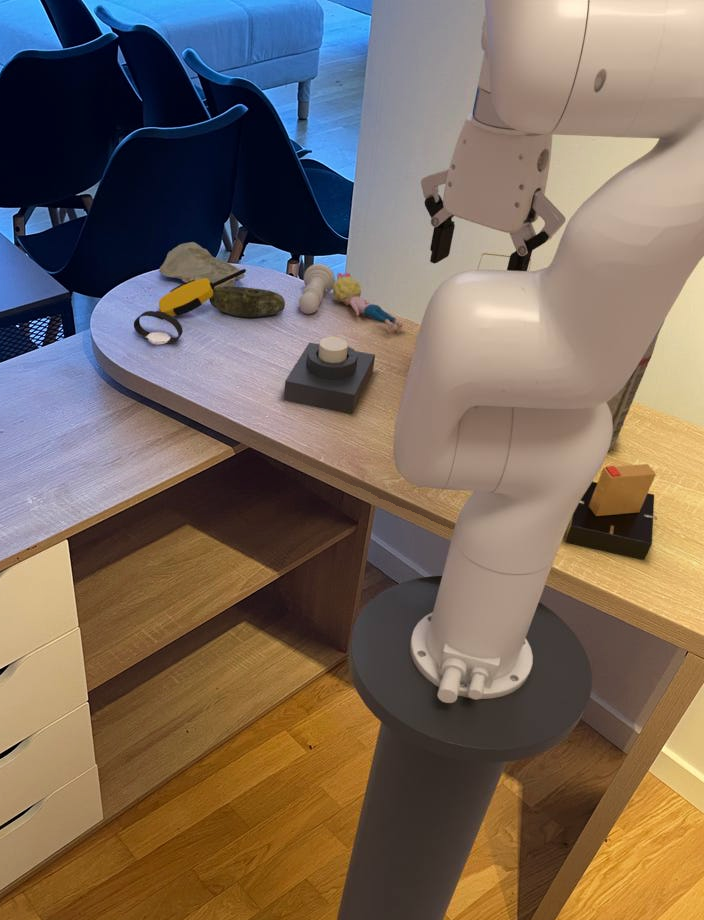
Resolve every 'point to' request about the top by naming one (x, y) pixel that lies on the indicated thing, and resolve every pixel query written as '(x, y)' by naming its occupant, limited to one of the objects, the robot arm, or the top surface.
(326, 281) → the chess piece
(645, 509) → the panel
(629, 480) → the knob
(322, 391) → the dark grey button base
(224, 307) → the decorative stone
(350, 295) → the figurine
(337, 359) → the white push button
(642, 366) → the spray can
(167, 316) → the watch
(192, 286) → the walkie talkie
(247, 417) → the top surface
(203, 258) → the stone
